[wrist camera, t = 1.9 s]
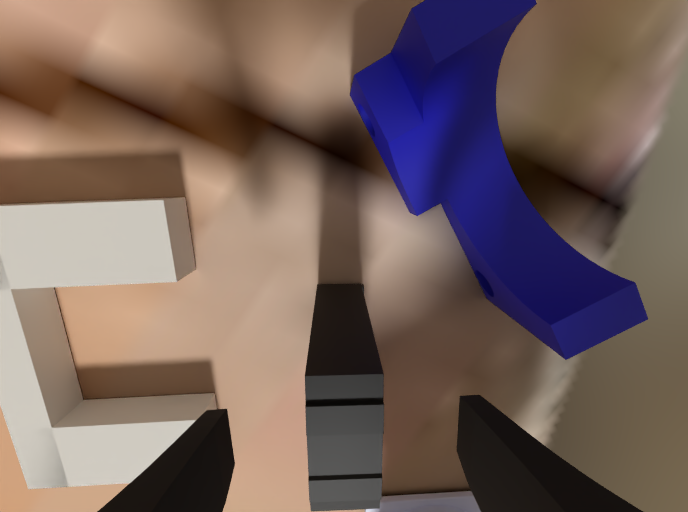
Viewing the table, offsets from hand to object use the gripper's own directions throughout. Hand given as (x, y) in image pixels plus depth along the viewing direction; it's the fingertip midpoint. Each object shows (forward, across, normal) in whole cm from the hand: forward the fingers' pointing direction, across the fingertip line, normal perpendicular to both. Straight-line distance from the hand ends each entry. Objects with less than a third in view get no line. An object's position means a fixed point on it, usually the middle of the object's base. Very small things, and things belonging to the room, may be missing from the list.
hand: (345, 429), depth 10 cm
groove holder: (+7, +11, 0) cm, 14 cm away
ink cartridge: (+7, 0, 0) cm, 7 cm away
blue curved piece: (+8, -6, -7) cm, 12 cm away
